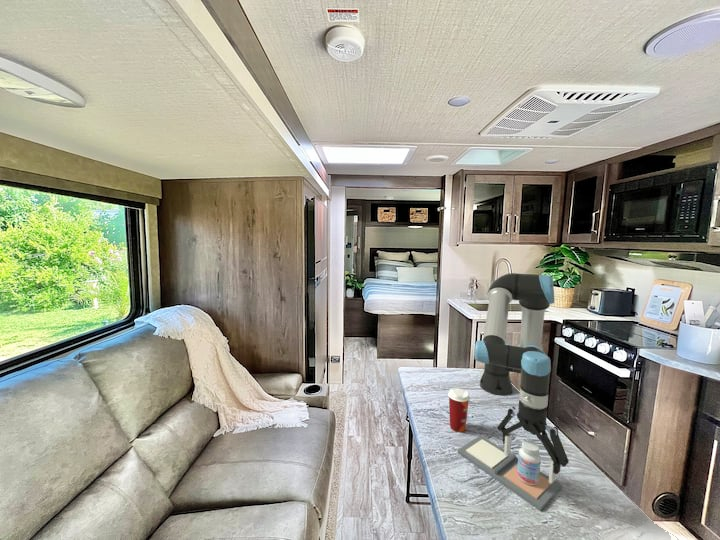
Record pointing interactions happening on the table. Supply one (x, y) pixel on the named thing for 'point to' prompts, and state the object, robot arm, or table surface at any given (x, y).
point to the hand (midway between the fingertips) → (528, 466)
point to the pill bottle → (529, 463)
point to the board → (508, 471)
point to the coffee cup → (458, 409)
